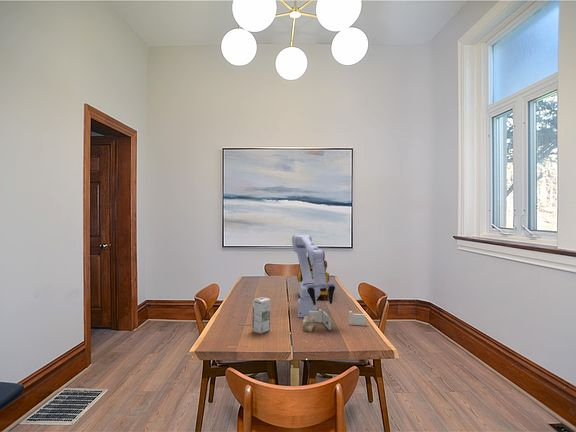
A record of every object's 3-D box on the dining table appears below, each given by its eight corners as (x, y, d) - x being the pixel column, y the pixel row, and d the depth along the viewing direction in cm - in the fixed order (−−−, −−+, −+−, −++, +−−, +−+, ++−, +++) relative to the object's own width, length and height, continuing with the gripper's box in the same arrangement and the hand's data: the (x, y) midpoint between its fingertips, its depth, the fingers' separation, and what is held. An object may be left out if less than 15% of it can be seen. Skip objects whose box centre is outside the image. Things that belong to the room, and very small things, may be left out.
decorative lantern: (329, 293, 219) (329, 247, 219) (329, 301, 200) (330, 250, 199) (298, 292, 221) (298, 246, 221) (296, 300, 202) (296, 250, 201)
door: (320, 321, 162) (320, 311, 162) (324, 321, 162) (324, 311, 162) (326, 330, 151) (326, 318, 151) (330, 329, 151) (331, 318, 151)
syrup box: (261, 327, 155) (261, 296, 155) (270, 330, 151) (270, 298, 151) (252, 331, 151) (252, 299, 150) (261, 334, 147) (261, 301, 147)
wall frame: (308, 321, 163) (308, 309, 163) (309, 320, 165) (309, 308, 165) (365, 325, 158) (365, 313, 158) (365, 324, 159) (365, 312, 159)
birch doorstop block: (302, 331, 151) (302, 321, 151) (305, 325, 159) (305, 315, 159) (311, 332, 150) (311, 322, 150) (313, 325, 158) (313, 316, 158)
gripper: (305, 273, 153) (309, 304, 149) (336, 271, 156) (340, 301, 151) (302, 276, 160) (306, 306, 155) (332, 274, 162) (336, 303, 158)
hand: (322, 304), depth 154 cm, fingers open, 7 cm apart
